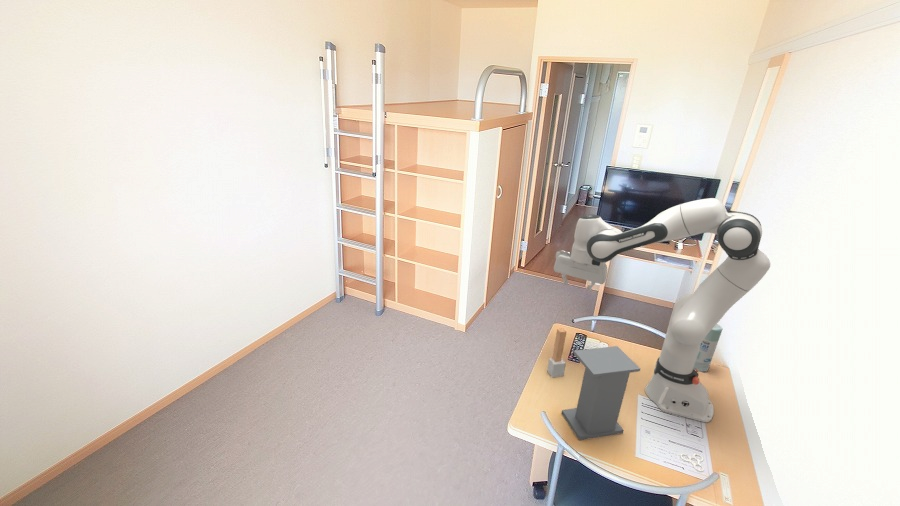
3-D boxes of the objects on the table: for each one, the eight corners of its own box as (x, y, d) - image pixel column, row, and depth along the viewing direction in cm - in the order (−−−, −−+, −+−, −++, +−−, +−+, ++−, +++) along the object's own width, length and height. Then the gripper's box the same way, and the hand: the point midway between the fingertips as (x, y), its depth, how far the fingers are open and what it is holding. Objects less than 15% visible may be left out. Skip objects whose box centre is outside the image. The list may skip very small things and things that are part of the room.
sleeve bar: (554, 328, 157) (559, 334, 154) (566, 327, 158) (571, 333, 155) (547, 370, 164) (551, 377, 161) (558, 369, 166) (563, 375, 162)
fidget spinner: (699, 454, 130) (700, 453, 130) (712, 472, 124) (712, 470, 124) (677, 454, 129) (678, 453, 129) (689, 472, 123) (690, 470, 123)
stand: (561, 413, 143) (573, 350, 133) (602, 407, 147) (617, 346, 137) (579, 440, 132) (593, 374, 123) (622, 433, 136) (640, 368, 126)
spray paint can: (711, 371, 170) (726, 329, 162) (698, 373, 168) (713, 331, 161) (699, 361, 175) (713, 321, 168) (686, 363, 174) (700, 322, 166)
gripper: (554, 251, 162) (549, 282, 168) (607, 264, 153) (600, 297, 158) (559, 246, 167) (554, 277, 173) (611, 259, 158) (604, 291, 163)
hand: (576, 287), depth 165 cm, fingers open, 8 cm apart
